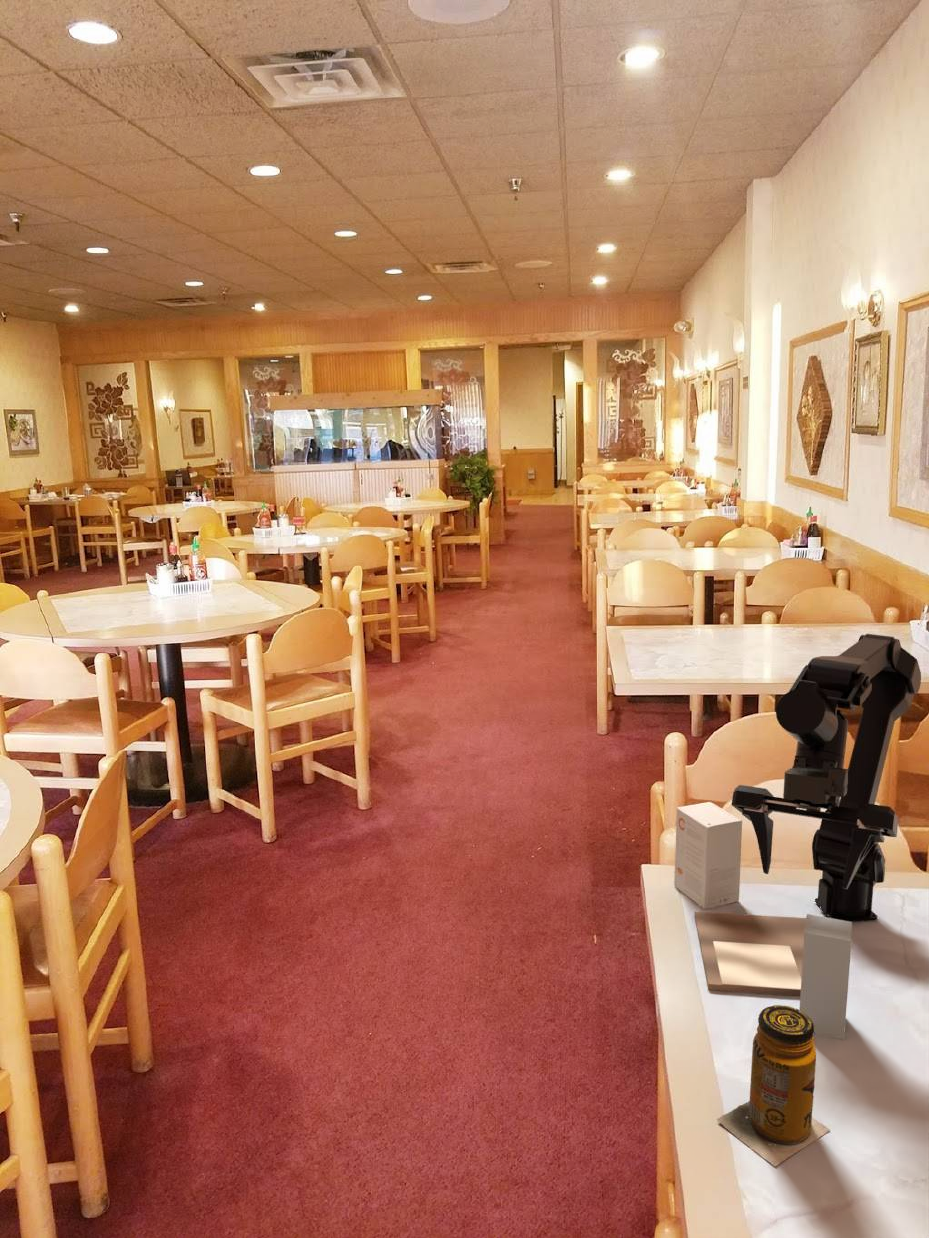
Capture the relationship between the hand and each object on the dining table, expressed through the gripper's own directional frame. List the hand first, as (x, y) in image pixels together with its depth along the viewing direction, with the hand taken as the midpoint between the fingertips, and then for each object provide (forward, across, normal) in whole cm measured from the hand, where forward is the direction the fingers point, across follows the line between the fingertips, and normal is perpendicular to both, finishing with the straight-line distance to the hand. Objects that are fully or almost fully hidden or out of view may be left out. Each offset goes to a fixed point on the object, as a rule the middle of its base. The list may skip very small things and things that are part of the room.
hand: (804, 880), depth 113 cm
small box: (+3, -18, +25) cm, 31 cm away
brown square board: (+10, -6, +13) cm, 18 cm away
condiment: (+26, +2, -12) cm, 29 cm away
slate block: (+16, +3, +4) cm, 17 cm away
